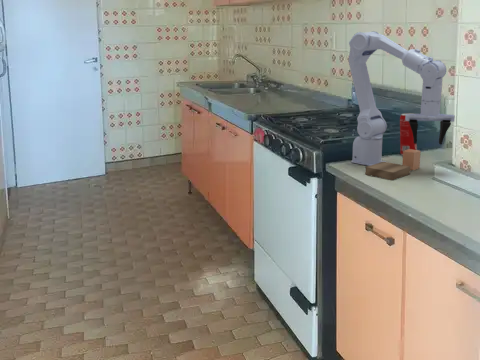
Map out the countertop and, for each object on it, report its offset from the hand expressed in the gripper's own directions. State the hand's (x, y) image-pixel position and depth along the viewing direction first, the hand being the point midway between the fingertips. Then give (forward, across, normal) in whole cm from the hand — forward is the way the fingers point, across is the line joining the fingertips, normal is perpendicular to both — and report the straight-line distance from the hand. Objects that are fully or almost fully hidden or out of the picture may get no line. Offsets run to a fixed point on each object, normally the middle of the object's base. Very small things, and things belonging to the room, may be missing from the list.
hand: (427, 143), depth 181 cm
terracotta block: (+10, -4, +5) cm, 11 cm away
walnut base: (+10, -12, -4) cm, 16 cm away
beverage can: (+10, -3, +26) cm, 28 cm away
